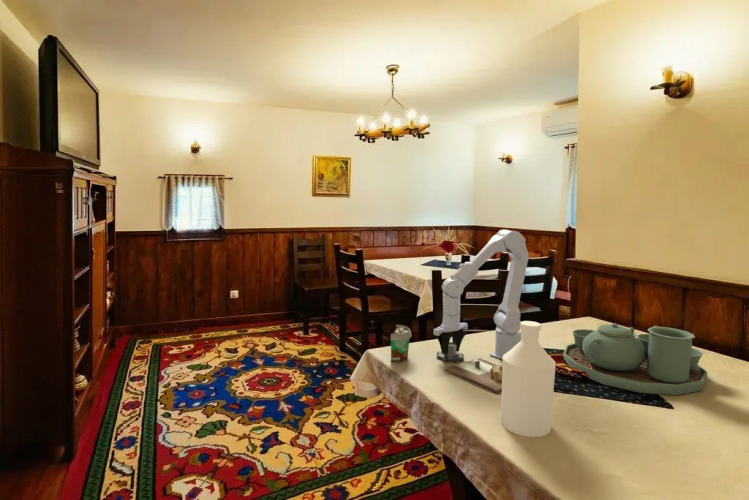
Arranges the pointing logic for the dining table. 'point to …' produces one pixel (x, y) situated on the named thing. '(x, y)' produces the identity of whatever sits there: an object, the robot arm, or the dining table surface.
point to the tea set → (638, 359)
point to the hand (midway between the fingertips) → (450, 352)
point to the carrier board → (480, 374)
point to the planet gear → (451, 354)
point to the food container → (400, 343)
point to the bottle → (527, 385)
